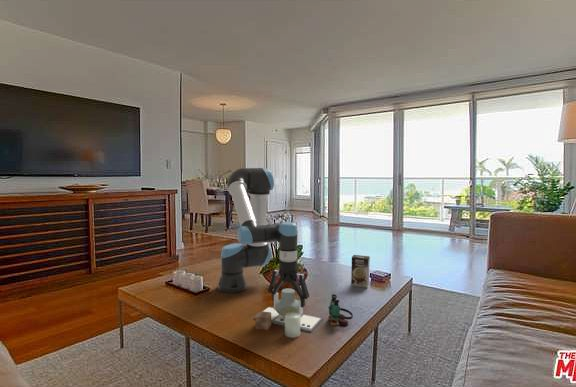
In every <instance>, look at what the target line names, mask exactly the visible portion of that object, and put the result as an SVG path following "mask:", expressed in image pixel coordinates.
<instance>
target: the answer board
mask: <svg viewBox="0 0 576 387" xmlns="http://www.w3.org/2000/svg"><path fill="white" fill-rule="evenodd" d="M261 312H271V324H274V325H278V326H282V327H285V316H282V315H280V314H278V313H277V312H276V310H274V307H272V306H268V307H267V308H265V309H263V310H262V311H261ZM298 314H299V313H298ZM253 319H254V320H256V315H255V316H254V318H253ZM322 321H323V317H318V316H313V315H309V314H305V313H302V314H301V315H300V331H303V332H308V333H312V332H313V331H314V330H315V329H316V328H317V326H319V324H321V322H322Z"/></svg>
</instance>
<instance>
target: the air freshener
mask: <svg viewBox="0 0 576 387" xmlns="http://www.w3.org/2000/svg"><path fill="white" fill-rule="evenodd" d="M275 310H276V312H277V313H278V314H280V315H282V316H285V314H287V313H299V300H298V299H296V290H295V289H293V288H283V289H282V290H281V292H280V299H278V302H277V303H276V305H275Z"/></svg>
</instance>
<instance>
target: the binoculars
mask: <svg viewBox="0 0 576 387" xmlns="http://www.w3.org/2000/svg"><path fill="white" fill-rule="evenodd" d="M339 302H340V300H339V299H337V294H333V293H332V294H331V299H330V302H329V306H328V314H329V316H328V317H327V318H328V319H327V320H328V321H330V326H333V327H334V326H336V325H344V326H348V325H349V321H348V320H352V319H353V318H354V316H353V313H352V311H350V310H348V309H346V308H343V307H341V306H340V304H339ZM341 311H343V312H346V313H347V314H349V315H350V316H345V315H344V314H341Z"/></svg>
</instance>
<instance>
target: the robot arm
mask: <svg viewBox="0 0 576 387" xmlns="http://www.w3.org/2000/svg"><path fill="white" fill-rule="evenodd" d="M274 180H275V178H274V175H273V172H272V171H271V170H270V169H269V168H264V167H242V168H241V167H240V168H237V169H235V170H234V171H232V173H231V174H230V175H229V178H228V179H227V182H226V184H227V185H226V188H227V191H228V193H229V195H230V196H231V198H232V202H233V204H234V209H235V212H236V216H237V219H238V223H239V227H237V240H238V243H230V244H227V245H225V246H223V247H222V248H221V251H220V252H221V253H220V267H221V269H220V270H221V274H220V278H219V281H218V285H217V290H218V291H219V292H221V293H225V294H234V293H241V292H243V291H245V290H247V288H248V287H247V286H248V284H247V281H246V278H245V274H244V269H245V268H255V267H264V266H267V265H269V263H270V262H269V261H271V258H272V247H271V245H270V244H269V243H276V242H277V243H278V244H279V245H278V249H279V250H278V254H279V256H278V257H279V258H278V259H279V261H278V262H279V264H278V268H279V270H278V269H274V270H272V277H271V280H270V283H269V286H268V288H267V292H269V293H271V301H272V302H273V308H274V310H275V305H276V303H277V302H278V301H279V292H278V291H279V289H280V287H281V286H282V285H283V283H289V284H291V285H292V286H293V288H294V290H295V293H297V296H298V297H299V299H298V301H299V314H300V315H301V314H304V307H305V306H306V300H307V299H308V298H310V294H309V290H308V286H307V284H306V281H305V273H298V225H297V223H295V222H292V221H291V222H290V221H283V222H279V223H277V222H276V223H272V224H267V222H266V221H267V203H268V202H267V198H268V196H269V195H270V193H271V191H272V190H274V187H275V181H274ZM249 196H250V197H249ZM268 262H269V263H268ZM266 264H267V265H266ZM278 276H279V277H280V278H279V279H278ZM277 279H278V282H277ZM298 280H299V281H298ZM276 282H277V283H276Z"/></svg>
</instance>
